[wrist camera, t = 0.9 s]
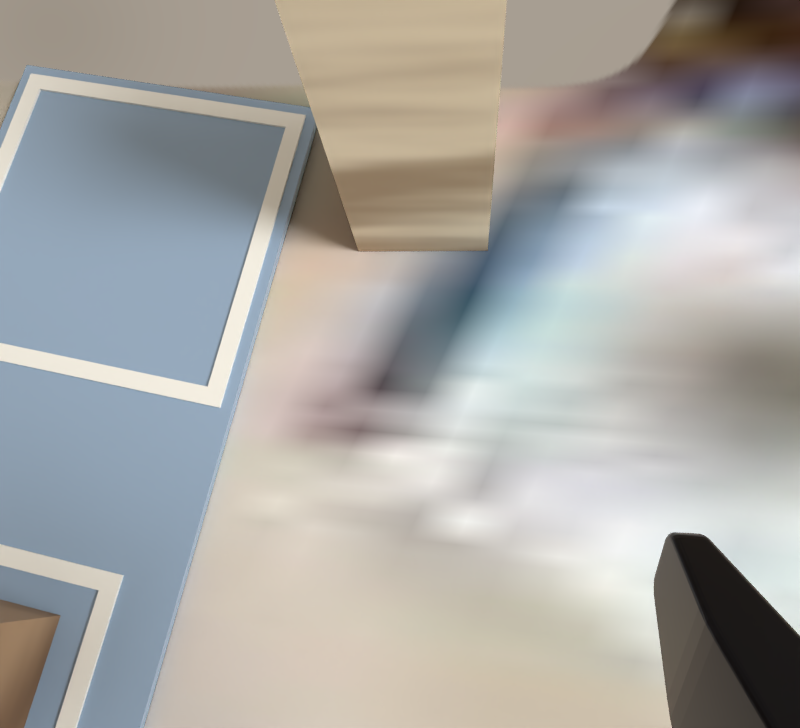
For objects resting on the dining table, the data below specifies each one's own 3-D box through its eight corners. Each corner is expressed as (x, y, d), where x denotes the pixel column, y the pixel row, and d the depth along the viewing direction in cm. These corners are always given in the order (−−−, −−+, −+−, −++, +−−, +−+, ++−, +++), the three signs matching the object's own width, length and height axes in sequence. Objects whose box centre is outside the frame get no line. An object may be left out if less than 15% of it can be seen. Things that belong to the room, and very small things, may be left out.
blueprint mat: (99, 880, 21) (92, 886, 20) (-254, 767, 22) (-266, 771, 22) (320, 113, 27) (318, 107, 27) (31, 70, 29) (25, 63, 28)
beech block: (487, 250, 25) (508, -19, 13) (358, 251, 25) (271, -10, 14) (487, 135, 26) (506, -202, 15) (364, 138, 27) (288, -189, 15)
